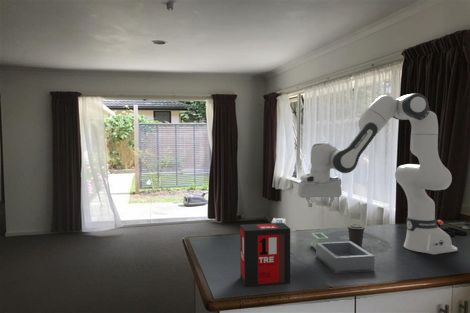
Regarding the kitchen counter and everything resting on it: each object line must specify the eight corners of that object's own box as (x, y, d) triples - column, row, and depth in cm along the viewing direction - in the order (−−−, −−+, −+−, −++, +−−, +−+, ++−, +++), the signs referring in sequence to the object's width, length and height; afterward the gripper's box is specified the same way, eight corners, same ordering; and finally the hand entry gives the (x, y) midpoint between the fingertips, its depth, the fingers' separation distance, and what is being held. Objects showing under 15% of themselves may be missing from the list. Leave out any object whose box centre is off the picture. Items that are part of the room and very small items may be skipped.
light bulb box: (285, 244, 175) (284, 223, 174) (271, 244, 176) (271, 222, 175) (286, 238, 185) (286, 218, 184) (273, 238, 186) (273, 217, 186)
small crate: (321, 245, 174) (321, 232, 173) (328, 250, 165) (328, 237, 165) (311, 245, 173) (311, 233, 173) (318, 251, 164) (318, 238, 164)
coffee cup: (356, 242, 177) (356, 222, 176) (368, 247, 170) (368, 226, 169) (343, 245, 173) (343, 224, 173) (355, 249, 166) (355, 228, 166)
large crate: (350, 254, 159) (350, 241, 159) (374, 271, 140) (374, 255, 139) (316, 256, 157) (316, 242, 157) (335, 273, 137) (335, 258, 137)
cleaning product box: (245, 287, 126) (244, 230, 125) (240, 277, 135) (240, 224, 133) (290, 283, 128) (290, 228, 127) (283, 274, 137) (282, 222, 136)
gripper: (338, 176, 172) (337, 204, 172) (297, 176, 169) (296, 205, 170) (344, 177, 165) (343, 207, 166) (301, 178, 163) (301, 208, 163)
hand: (319, 206), depth 168 cm, fingers open, 8 cm apart
